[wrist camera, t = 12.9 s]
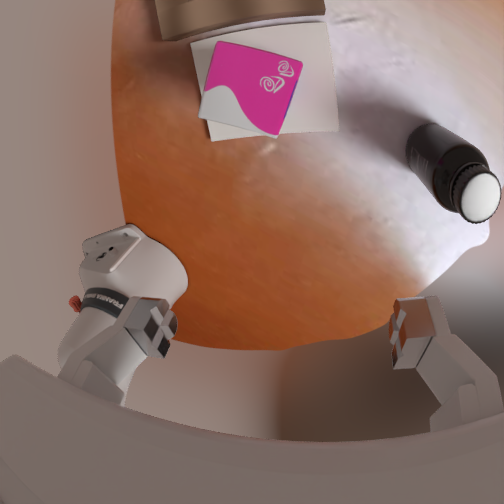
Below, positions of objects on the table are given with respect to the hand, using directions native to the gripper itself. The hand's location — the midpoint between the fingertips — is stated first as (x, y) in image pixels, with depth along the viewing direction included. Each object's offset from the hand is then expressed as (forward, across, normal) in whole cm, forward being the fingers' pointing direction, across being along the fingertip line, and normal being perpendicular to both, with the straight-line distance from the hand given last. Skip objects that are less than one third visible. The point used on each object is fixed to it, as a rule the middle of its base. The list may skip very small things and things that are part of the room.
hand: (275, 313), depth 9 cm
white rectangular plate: (+24, +3, -7) cm, 25 cm away
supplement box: (+23, +2, -7) cm, 24 cm away
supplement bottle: (+24, -15, +2) cm, 28 cm away
